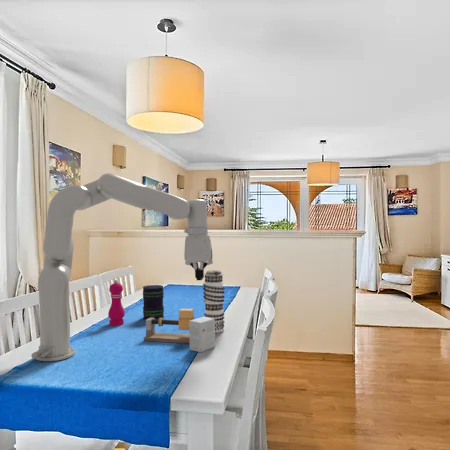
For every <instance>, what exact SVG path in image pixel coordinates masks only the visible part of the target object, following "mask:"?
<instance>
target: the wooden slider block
mask: <svg viewBox="0 0 450 450" xmlns="http://www.w3.org/2000/svg"><path fill="white" fill-rule="evenodd" d="M194 319H195V311H194V308H180V309H179V310H178V319H177V320H178V321H179V325H178V331H189V321H190V320H194Z"/></svg>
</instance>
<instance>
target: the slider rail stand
mask: <svg viewBox="0 0 450 450" xmlns="http://www.w3.org/2000/svg"><path fill="white" fill-rule="evenodd" d="M155 325H158V326H159V327H163V326H164V325H166V326H167V325H169V326H179V321H178V319H177V320H176V319H164V318H159V319H155V318H148V319H147V320H145V336H144V337H143V341H144V342H160V343H161V342H162V343H163V342H164V343H177V344H178V343H180V344H190V333H177V332H160V331H158V332H157V331H156V330H155V329H156V328H155Z"/></svg>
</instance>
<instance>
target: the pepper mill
mask: <svg viewBox="0 0 450 450" xmlns="http://www.w3.org/2000/svg"><path fill="white" fill-rule="evenodd" d="M123 290H124V287H123V285H122V284H121V283H120V282H119V280H118V279H114V281H113V283H112V284H110V286H109V289H108V291H109V293H110V298H111V305H110V307H109V309H108V313H107V314H108V315H107V317H108V318H109V319H110V320H109V324H108V325H110V326H115V327H116V326H122V325H124V324H125V320H124V319H123V318H124V317H125V314H126V313H125V310H124V307H123V304H122V297H123V296H122V295H123V293H122V292H123Z"/></svg>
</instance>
